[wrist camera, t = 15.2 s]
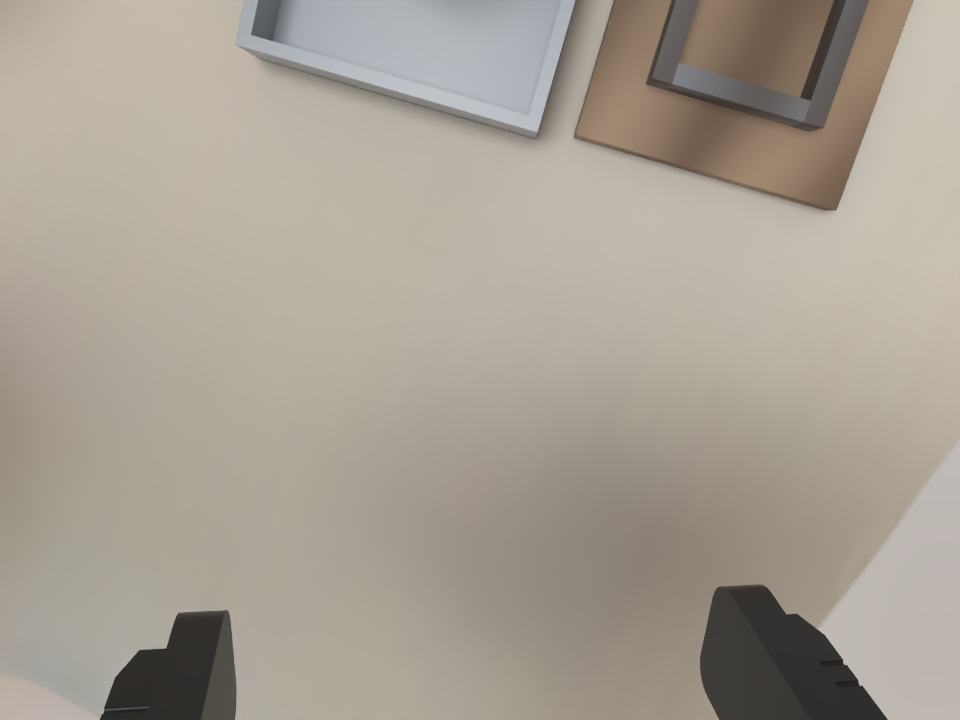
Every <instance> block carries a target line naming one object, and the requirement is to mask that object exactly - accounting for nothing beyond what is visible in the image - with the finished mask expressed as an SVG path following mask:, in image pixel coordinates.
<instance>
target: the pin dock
mask: <svg viewBox="0 0 960 720" xmlns="http://www.w3.org/2000/svg"><path fill="white" fill-rule="evenodd" d="M912 3H913V0H614V2H613V6H612V9H611V12H610V16H609V19H608V23H607V26H606V29H605V33H604V36H603V39H602V43H601V46H600V50H599V53H598V56H597V60H596V63H595V66H594V70H593V73H592V77H591V80H590V83H589V87H588V90H587V93H586V97H585V100H584V103H583V107H582V110H581V114H580V117H579V120H578V124H577V127H576V130H575V134H574V137H575V138H578V139H582V140H585V141H588V142H592V143H595V144H599V145H602V146H606V147H609V148H613V149H616V150H619V151H623V152H626V153H630V154H633V155H637V156H640V157H644V158H647V159H650V160H654V161H657V162H661V163H664V164H668V165H671V166H675V167H678V168H681V169H685V170H688V171H692V172H695V173H699V174H702V175H706V176H709V177H712V178H716V179H719V180H723V181H726V182H730V183H733V184H737V185H740V186H743V187H747V188H750V189H754V190H757V191H761V192H764V193H768V194H771V195H774V196H778V197H781V198H785V199H788V200H792V201H795V202H798V203H802V204H805V205H809V206H812V207H816V208H819V209H823V210H837V207H838V204H839V202H840V199H841V196H842V194H843V191H844V188H845V185H846V183H847V180H848V177H849V174H850V172H851V169H852V166H853V164H854V161H855V158H856V155H857V153H858V150H859V147H860V144H861V142H862V139H863V136H864V134H865V131H866V128H867V125H868V123H869V120H870V117H871V114H872V112H873V109H874V106H875V104H876V101H877V98H878V95H879V93H880V90H881V87H882V84H883V82H884V79H885V76H886V74H887V71H888V68H889V65H890V63H891V60H892V57H893V54H894V52H895V49H896V46H897V44H898V41H899V38H900V35H901V33H902V30H903V27H904V24H905V22H906V19H907V16H908V14H909V11H910V8H911V5H912Z"/></svg>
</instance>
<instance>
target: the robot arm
mask: <svg viewBox="0 0 960 720" xmlns="http://www.w3.org/2000/svg"><path fill="white" fill-rule="evenodd" d="M700 670H701V677H702V682H703V686H704V689H705V692H706V694H707V696H708V698H709V700H710V702H711V704H712V706H713V708H714V710H715V712H716V714H717V716H718V718H719V720H887V718H886V717H885V716H884V714H883V713H882V712H881V710H880V709H879V707H878V706H877V705H876V704H875V702H874V701H873V699H872V698H871V697H870V695H869V694H868V693H867V691H866V690H865V689H864V687H863V686H859V683H858V679H857V678H856V677H855V675H854V674H853V673H852V671H851V670H850V669H849V667H848V666H847V665H844V664H843V659H842V658H841V656H840V655H839V654H838V653H837V651H836V650H835V648H834V647H833V646H832V644H831V643H830V642H829V640H828V639H827V638H826V636H825V635H824V634H822V633H821V632H820V631H819V630H817V629H816V628H815V627H813V626H812V625H811V624H809V623H808V622H807V621H806V620H804V619H803V618H802V617H800V616H799V615H798V614H788V615H786V613H785V612H784V610H783V609H782V608H781V606H780V605H779V603H778V602H777V600H776V599H775V598H774V596H773V595H772V593H771V592H770V591H769V590H768V588H766V587H765V586H763V585H742V586H723V587H718V588H717V589H716V591H715V593H714V595H713V599H712V604H711V609H710V613H709V618H708V623H707V627H706V632H705V637H704V641H703V646H702V651H701V657H700ZM235 714H236V677H235V666H234V655H233V643H232V632H231V621H230V615H229V612H228V611H227V610H224V611H205V612H185V613H178V615H177V616H176V619H175V622H174V625H173V628H172V632H171V635H170V638H169V642H168V645H167V648H166V649H151V650H139V651H138V652H137V654H136V655H135V656H134V657H133V658H132V659H131V660H130V662H129V663H128V664H127V665H126V666H125V667H124V668H123V669H122V671H121V672H120V673H119V674H118V675H117V676H116V677H115V680H114V683H113V685H112V688H111V691H110V694H109V696H108V699H107V702H106V705H105V707H104V714H102V716H101V718H100V720H235Z"/></svg>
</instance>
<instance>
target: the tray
mask: <svg viewBox="0 0 960 720" xmlns="http://www.w3.org/2000/svg"><path fill="white" fill-rule="evenodd" d="M575 1H576V0H245V1H244V6H243V10H242V15H241V20H240V25H239V29H238V34H237V39H236V44H235V45H237V46H239V47H240V48H242V49H244V50H245V51H247V52H249V53H251V54H252V55H254V56H256V57H257V58H259V59H262V60H265V61H269V62H272V63H275V64H279V65H282V66H286V67H289V68H293V69H296V70H300V71H303V72H306V73H310V74H313V75H317V76H320V77H324V78H327V79H331V80H334V81H337V82H341V83H344V84H348V85H351V86H355V87H358V88H362V89H365V90H368V91H372V92H375V93H379V94H382V95H386V96H389V97H393V98H396V99H399V100H403V101H406V102H410V103H413V104H417V105H420V106H424V107H427V108H430V109H434V110H437V111H441V112H444V113H448V114H451V115H455V116H458V117H461V118H465V119H468V120H472V121H475V122H479V123H482V124H486V125H489V126H492V127H496V128H499V129H503V130H506V131H510V132H513V133H517V134H520V135H523V136H527V137H530V138H534V139H536V136H537V133H538V129H539V126H540V122H541V119H542V115H543V112H544V108H545V105H546V101H547V98H548V94H549V91H550V88H551V84H552V81H553V77H554V74H555V70H556V67H557V63H558V60H559V56H560V53H561V49H562V46H563V42H564V39H565V35H566V32H567V28H568V25H569V21H570V18H571V14H572V11H573V8H574V4H575Z"/></svg>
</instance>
